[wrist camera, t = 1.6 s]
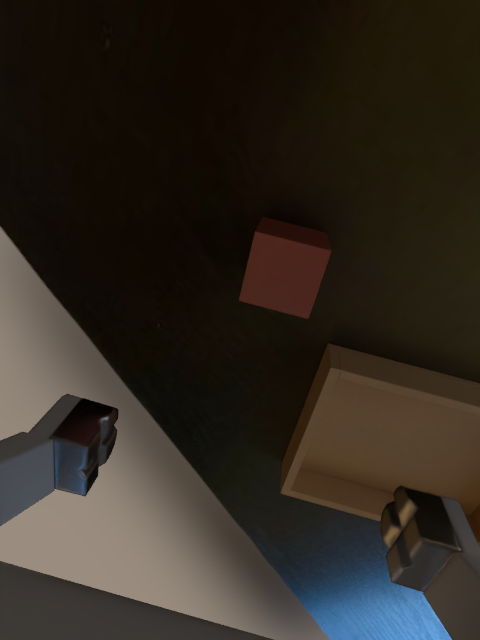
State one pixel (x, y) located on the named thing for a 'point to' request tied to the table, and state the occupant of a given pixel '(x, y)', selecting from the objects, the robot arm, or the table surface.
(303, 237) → the block
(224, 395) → the table surface
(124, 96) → the table surface
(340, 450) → the tray
